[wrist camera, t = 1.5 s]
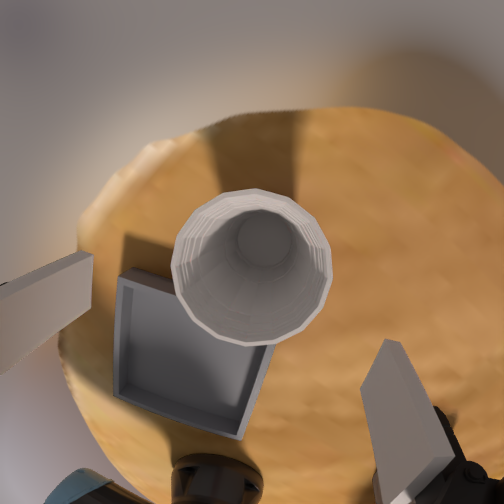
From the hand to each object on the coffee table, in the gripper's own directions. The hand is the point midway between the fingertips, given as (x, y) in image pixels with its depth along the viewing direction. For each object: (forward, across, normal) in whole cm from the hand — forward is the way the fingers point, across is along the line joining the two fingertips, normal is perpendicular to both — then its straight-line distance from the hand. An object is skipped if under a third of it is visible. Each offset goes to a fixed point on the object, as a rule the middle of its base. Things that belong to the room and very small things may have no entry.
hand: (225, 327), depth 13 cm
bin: (+20, +5, +16) cm, 26 cm away
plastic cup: (+20, 0, 0) cm, 20 cm away
